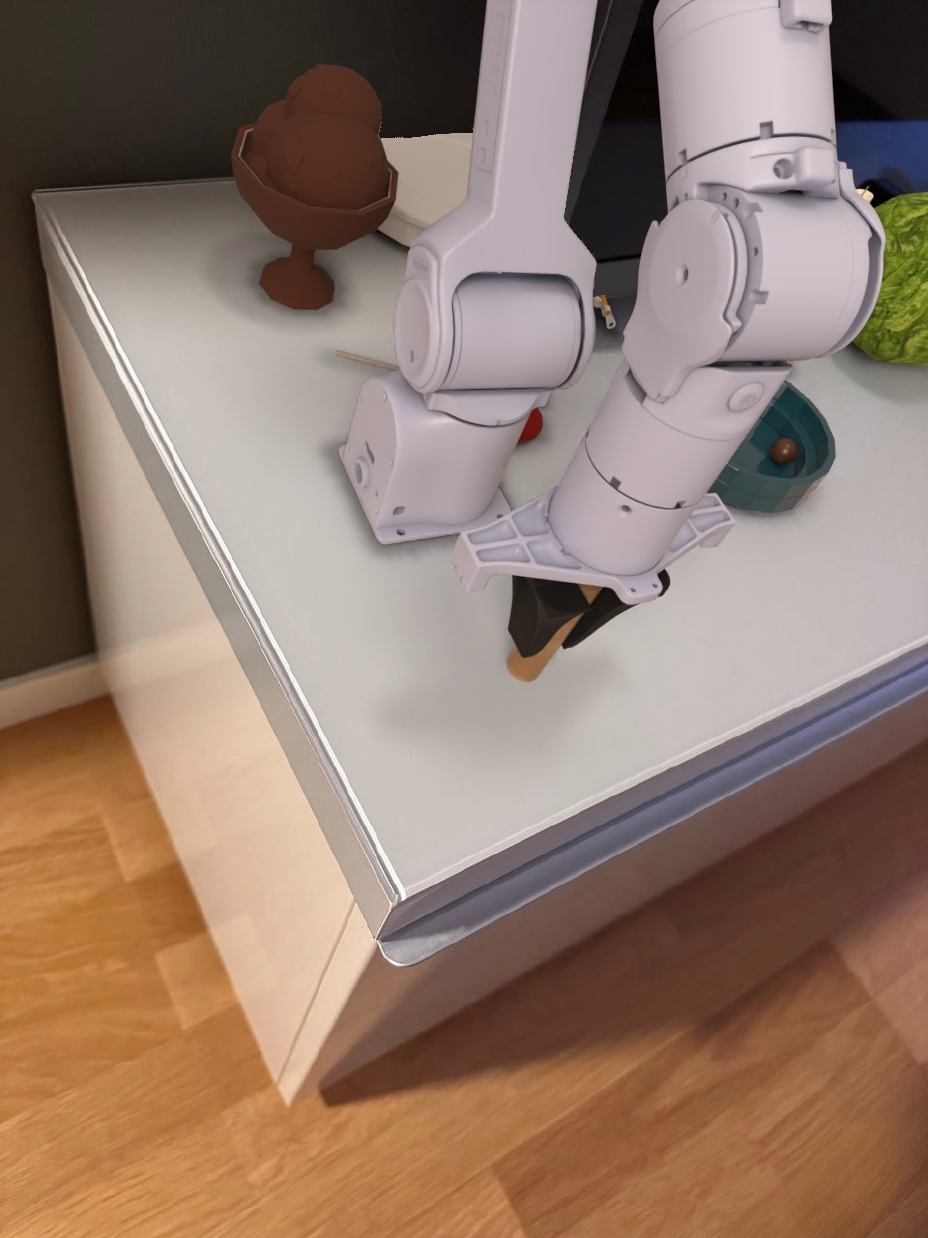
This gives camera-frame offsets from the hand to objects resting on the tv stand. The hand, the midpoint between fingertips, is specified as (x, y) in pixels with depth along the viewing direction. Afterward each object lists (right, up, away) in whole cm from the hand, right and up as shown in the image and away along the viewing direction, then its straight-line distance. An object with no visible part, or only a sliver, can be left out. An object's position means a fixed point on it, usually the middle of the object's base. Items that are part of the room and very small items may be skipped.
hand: (540, 637), depth 51 cm
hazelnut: (+20, +14, +21) cm, 32 cm away
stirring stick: (-1, -2, +2) cm, 3 cm away
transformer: (+9, +34, +30) cm, 46 cm away
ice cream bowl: (-16, +25, +18) cm, 35 cm away
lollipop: (-6, +17, +16) cm, 24 cm away
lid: (-5, +37, +31) cm, 48 cm away
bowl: (+16, +14, +21) cm, 30 cm away
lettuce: (+37, +36, +37) cm, 64 cm away
